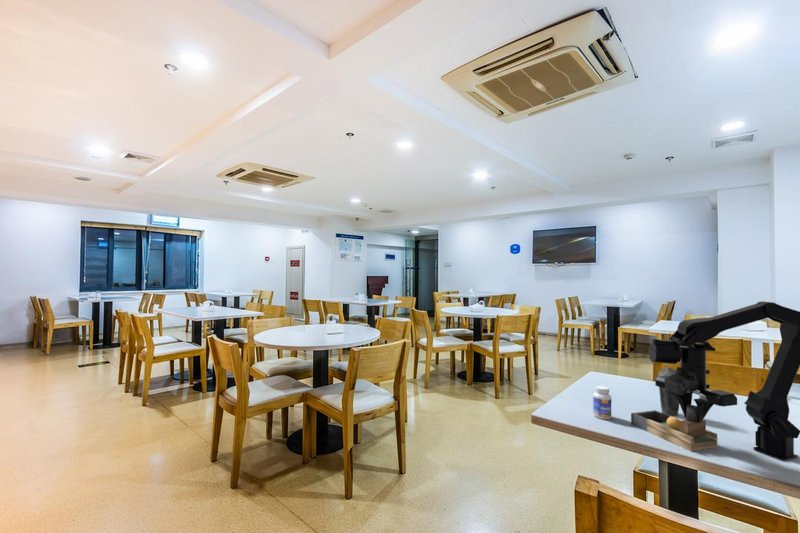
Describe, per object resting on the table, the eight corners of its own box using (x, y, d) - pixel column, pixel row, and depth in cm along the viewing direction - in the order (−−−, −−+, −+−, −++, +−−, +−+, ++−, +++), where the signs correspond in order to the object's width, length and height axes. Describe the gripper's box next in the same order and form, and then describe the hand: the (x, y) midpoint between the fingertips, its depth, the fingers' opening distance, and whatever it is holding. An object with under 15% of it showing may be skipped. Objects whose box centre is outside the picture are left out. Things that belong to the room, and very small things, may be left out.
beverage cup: (687, 418, 123) (687, 358, 124) (663, 416, 125) (663, 357, 125) (676, 410, 130) (676, 354, 131) (653, 409, 132) (653, 352, 132)
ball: (684, 430, 109) (684, 418, 109) (675, 432, 108) (675, 420, 108) (672, 426, 112) (672, 414, 112) (663, 427, 111) (663, 415, 111)
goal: (671, 427, 116) (671, 416, 116) (646, 431, 113) (646, 419, 113) (654, 420, 121) (655, 410, 121) (631, 424, 118) (631, 413, 118)
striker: (707, 435, 104) (707, 407, 105) (689, 438, 103) (689, 409, 103) (696, 431, 107) (696, 403, 107) (678, 434, 105) (678, 405, 106)
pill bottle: (601, 420, 121) (602, 390, 121) (589, 414, 126) (589, 385, 126) (615, 418, 123) (615, 389, 123) (602, 412, 128) (602, 384, 128)
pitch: (717, 446, 103) (717, 433, 103) (690, 451, 101) (690, 438, 101) (671, 427, 116) (671, 416, 116) (646, 431, 113) (646, 419, 113)
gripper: (641, 359, 112) (641, 410, 112) (707, 376, 94) (707, 437, 94) (669, 357, 115) (669, 407, 115) (738, 373, 97) (738, 432, 97)
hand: (693, 420), depth 105 cm, fingers closed on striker, 3 cm apart
